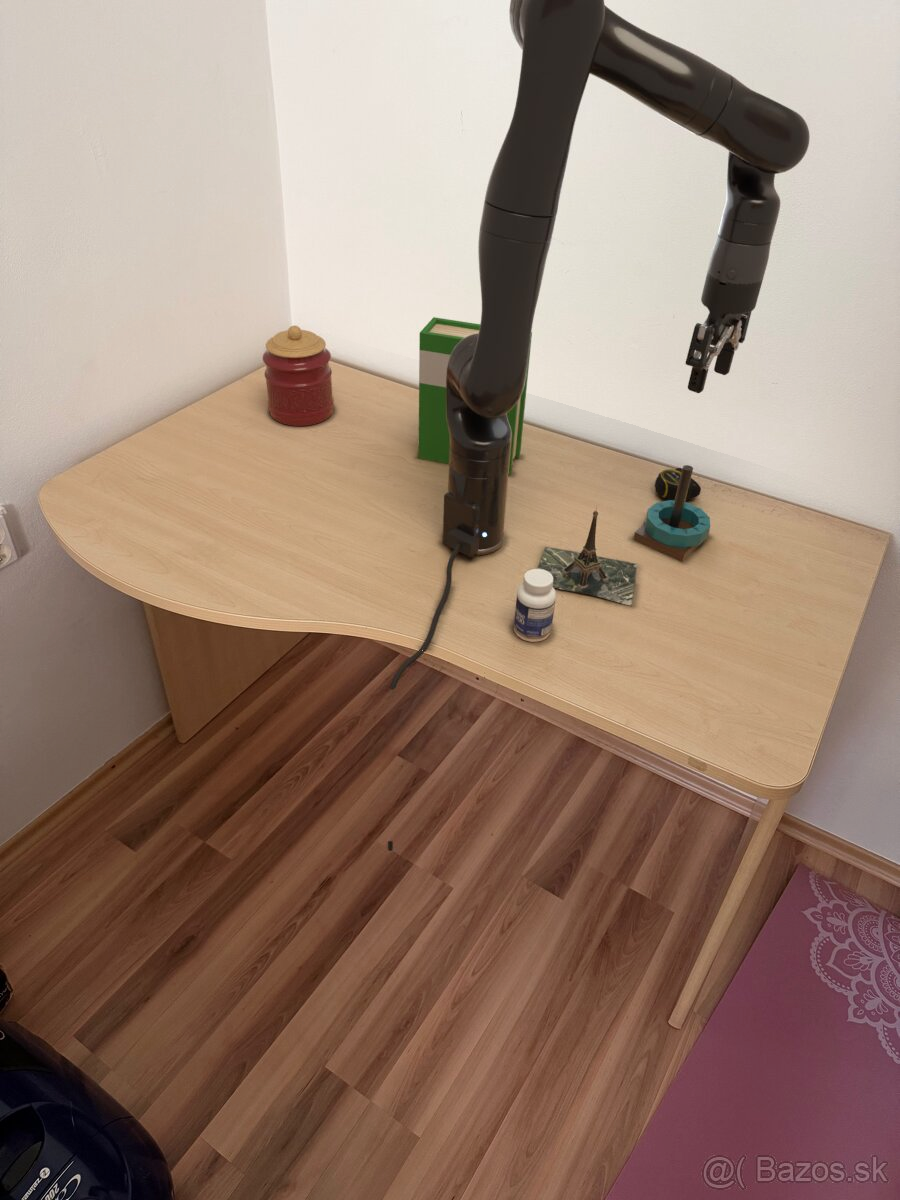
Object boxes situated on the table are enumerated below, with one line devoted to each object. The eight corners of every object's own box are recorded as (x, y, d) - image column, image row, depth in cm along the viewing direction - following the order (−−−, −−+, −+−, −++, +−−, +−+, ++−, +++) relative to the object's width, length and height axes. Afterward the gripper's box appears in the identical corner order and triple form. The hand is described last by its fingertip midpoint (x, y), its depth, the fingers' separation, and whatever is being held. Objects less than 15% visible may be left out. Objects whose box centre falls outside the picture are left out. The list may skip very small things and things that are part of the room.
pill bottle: (510, 618, 122) (516, 565, 115) (547, 617, 122) (554, 564, 116) (516, 644, 117) (522, 590, 111) (553, 642, 118) (561, 589, 112)
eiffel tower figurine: (638, 566, 132) (654, 494, 124) (631, 605, 125) (647, 532, 116) (545, 548, 135) (554, 477, 127) (532, 586, 128) (541, 513, 119)
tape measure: (699, 502, 147) (704, 484, 145) (665, 508, 145) (669, 489, 143) (680, 482, 152) (684, 464, 150) (646, 487, 150) (650, 469, 148)
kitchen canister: (305, 434, 161) (297, 346, 150) (255, 415, 167) (244, 328, 155) (347, 408, 170) (343, 323, 159) (298, 391, 175) (291, 308, 164)
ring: (687, 555, 132) (690, 542, 131) (633, 529, 137) (636, 517, 136) (717, 529, 138) (721, 517, 137) (664, 505, 143) (667, 493, 142)
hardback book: (520, 456, 157) (532, 332, 142) (510, 475, 152) (521, 348, 137) (431, 439, 161) (433, 317, 146) (418, 458, 156) (419, 332, 140)
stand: (682, 561, 134) (701, 489, 125) (633, 539, 138) (648, 468, 129) (707, 537, 139) (727, 466, 130) (659, 516, 143) (675, 447, 135)
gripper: (733, 254, 121) (707, 360, 132) (686, 277, 113) (662, 389, 123) (782, 266, 118) (751, 375, 128) (738, 291, 109) (709, 405, 119)
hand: (708, 381), depth 126 cm, fingers open, 8 cm apart
